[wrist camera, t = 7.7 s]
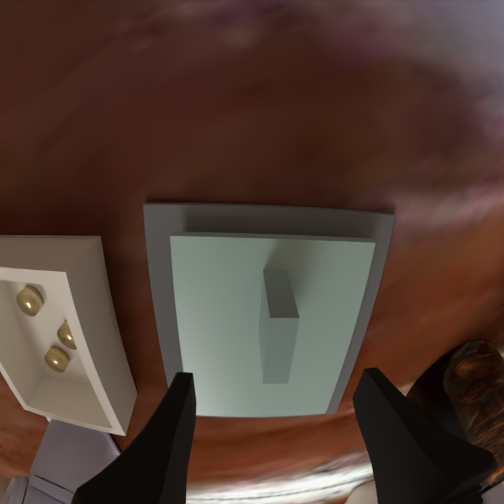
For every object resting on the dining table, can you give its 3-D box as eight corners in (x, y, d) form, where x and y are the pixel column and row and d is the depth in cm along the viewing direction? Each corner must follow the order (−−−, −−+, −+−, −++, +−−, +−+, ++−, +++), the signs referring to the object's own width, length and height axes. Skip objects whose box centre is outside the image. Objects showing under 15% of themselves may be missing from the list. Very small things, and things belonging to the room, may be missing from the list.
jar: (401, 372, 23) (466, 519, 9) (501, 321, 21) (583, 427, 8) (400, 430, 27) (438, 537, 14) (482, 389, 26) (532, 478, 13)
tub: (137, 393, 22) (125, 436, 18) (42, 375, 22) (24, 409, 18) (100, 235, 17) (65, 272, 12) (-9, 235, 16) (-47, 262, 12)
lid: (321, 398, 23) (335, 454, 18) (192, 399, 22) (185, 458, 17) (364, 231, 17) (410, 281, 11) (176, 224, 16) (148, 276, 11)
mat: (334, 409, 24) (335, 413, 24) (174, 410, 23) (174, 414, 23) (392, 212, 17) (395, 215, 16) (145, 202, 16) (143, 204, 15)
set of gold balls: (99, 370, 20) (95, 379, 20) (49, 361, 20) (44, 369, 19) (73, 289, 17) (67, 297, 16) (19, 283, 17) (13, 291, 16)
